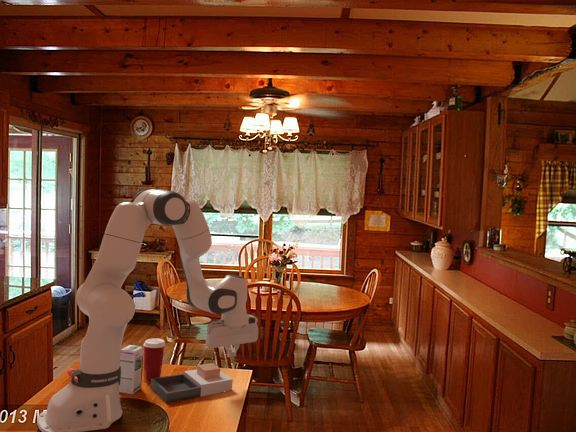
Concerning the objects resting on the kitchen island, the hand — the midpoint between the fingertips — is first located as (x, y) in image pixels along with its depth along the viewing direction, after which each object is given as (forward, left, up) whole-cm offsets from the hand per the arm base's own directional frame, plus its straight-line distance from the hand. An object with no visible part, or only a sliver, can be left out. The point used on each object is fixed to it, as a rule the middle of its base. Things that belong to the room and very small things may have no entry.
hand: (231, 356), depth 171 cm
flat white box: (-9, 0, -10) cm, 13 cm away
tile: (-9, 0, -6) cm, 10 cm away
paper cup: (-24, +14, -10) cm, 29 cm away
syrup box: (-34, +8, -10) cm, 36 cm away
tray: (-21, 0, -10) cm, 23 cm away
